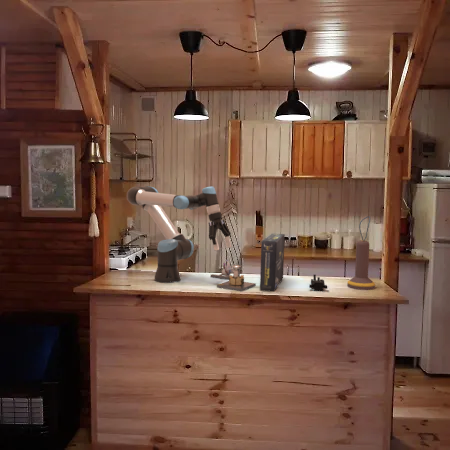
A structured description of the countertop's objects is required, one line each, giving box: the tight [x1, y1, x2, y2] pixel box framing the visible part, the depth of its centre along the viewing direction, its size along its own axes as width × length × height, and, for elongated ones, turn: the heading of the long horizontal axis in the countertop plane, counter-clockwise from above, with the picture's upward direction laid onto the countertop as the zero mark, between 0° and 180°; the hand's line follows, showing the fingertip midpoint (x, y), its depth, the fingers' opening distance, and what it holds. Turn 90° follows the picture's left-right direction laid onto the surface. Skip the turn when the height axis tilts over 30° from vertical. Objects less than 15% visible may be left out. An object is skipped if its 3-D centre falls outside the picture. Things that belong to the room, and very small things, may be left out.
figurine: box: [219, 259, 233, 276], centre depth 295 cm, size 12×9×15 cm
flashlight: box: [347, 216, 376, 291], centre depth 271 cm, size 15×40×15 cm
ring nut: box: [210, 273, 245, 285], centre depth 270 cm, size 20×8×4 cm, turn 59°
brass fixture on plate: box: [216, 264, 257, 292], centre depth 267 cm, size 16×16×12 cm
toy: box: [309, 274, 328, 292], centre depth 274 cm, size 10×5×30 cm
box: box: [259, 233, 286, 292], centre depth 274 cm, size 35×9×28 cm, turn 166°
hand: (223, 248), depth 277 cm, fingers open, 13 cm apart
